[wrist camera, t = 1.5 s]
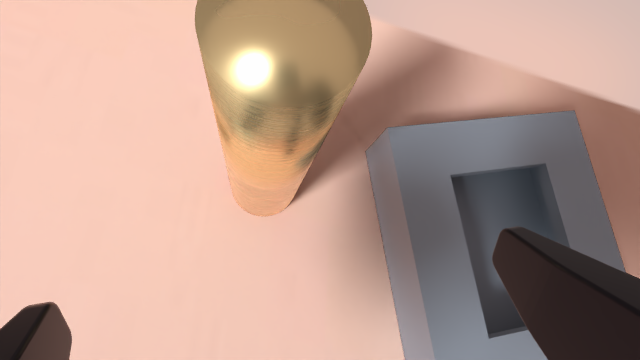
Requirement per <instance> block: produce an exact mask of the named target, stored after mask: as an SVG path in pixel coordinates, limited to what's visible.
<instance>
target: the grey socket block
mask: <svg viewBox="0 0 640 360" xmlns="http://www.w3.org/2000/svg"><path fill="white" fill-rule="evenodd" d="M365 152H366V157H367V162H368V167H369V173H370V178H371V183H372V188H373V194H374V199H375V204H376V209H377V215H378V220H379V225H380V230H381V236H382V241H383V246H384V251H385V257H386V262H387V267H388V272H389V278H390V283H391V288H392V293H393V299H394V304H395V309H396V315H397V320H398V325H399V330H400V336H401V341H402V346H403V351H404V357H405V360H547V358H546V356H545V355H544V353H543V352H542V350H541V349H540V347H539V346H538V344H537V343H536V341H535V340H534V338H533V337H532V335H531V334H530V332H529V330H528V329H527V327H526V325H525V324H524V322H523V320H522V318H521V317H520V315H519V313H518V311H517V309H516V307H515V305H514V303H513V301H512V300H511V298H510V296H509V294H508V292H507V290H506V288H505V286H504V285H503V283H502V281H501V279H500V277H499V275H498V273H497V271H496V269H495V268H494V265H493V262H492V255H493V251H494V248H495V245H496V242H497V239H498V236H499V233H500V232H501V231H502V230H503V229H505V228H510V227H516V226H520V227H524V228H526V229H528V230H531V231H533V232H535V233H537V234H540V235H542V236H544V237H546V238H549V239H551V240H553V241H555V242H558V243H560V244H562V245H564V246H567V247H569V248H571V249H573V250H576V251H578V252H580V253H582V254H585V255H587V256H589V257H591V258H594V259H596V260H598V261H601V262H603V263H605V264H607V265H610V266H612V267H614V268H616V269H619V270H621V271H623V272H625V273H626V271H625V268H624V265H623V262H622V259H621V256H620V252H619V249H618V246H617V243H616V240H615V237H614V234H613V230H612V227H611V224H610V221H609V218H608V215H607V212H606V208H605V205H604V202H603V199H602V196H601V193H600V190H599V186H598V183H597V180H596V177H595V174H594V171H593V168H592V164H591V161H590V158H589V155H588V152H587V149H586V145H585V142H584V139H583V136H582V133H581V130H580V127H579V123H578V120H577V117H576V114H575V111H563V112H552V113H541V114H530V115H519V116H508V117H497V118H487V119H476V120H465V121H454V122H443V123H432V124H421V125H410V126H399V127H388V128H387V129H386V130H385V131H384V132H383V133H382V134H381V135H380V136H379V137H378V138H377V139H376V141H375V142H374V143H373V144H372V145H371V146H370V147H369V148H368V149H367V150H366V151H365Z"/></svg>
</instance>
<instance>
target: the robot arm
mask: <svg viewBox="0 0 640 360" xmlns="http://www.w3.org/2000/svg"><path fill="white" fill-rule="evenodd" d="M492 262H493V265H494V268H495V269H496V271H497V273H498V275H499V277H500V279H501V281H502V283H503V285H504V286H505V288H506V290H507V292H508V294H509V296H510V298H511V300H512V301H513V303H514V305H515V307H516V309H517V311H518V313H519V315H520V317H521V318H522V320H523V322H524V324H525V325H526V327H527V329H528V330H529V332H530V334H531V335H532V337H533V338H534V340H535V341H536V343H537V344H538V346H539V347H540V349H541V350H542V352H543V353H544V355H545V356H546V358H547V360H640V279H639V278H637V277H634V276H632V275H630V274H628V273H625V272H623V271H621V270H619V269H616V268H614V267H612V266H610V265H607V264H605V263H603V262H601V261H598V260H596V259H594V258H591V257H589V256H587V255H585V254H582V253H580V252H578V251H576V250H573V249H571V248H569V247H567V246H564V245H562V244H560V243H558V242H555V241H553V240H551V239H549V238H546V237H544V236H542V235H540V234H537V233H535V232H533V231H531V230H528V229H526V228H524V227H520V226H516V227H510V228H505V229H503V230H502V231H501V232H500V233H499V236H498V239H497V242H496V245H495V248H494V251H493V255H492ZM71 344H72V336H71V331H70V329H69V327H68V325H67V323H66V321H65V319H64V317H63V315H62V313H61V311H60V309H59V307H58V306H57V305H56V304H55V303H53V302H46V303H40V304H34V305H29V306H27V307H25V308H23V309H22V310H21V311H20V312H19V313H18V314H17V315H15V316H14V317H13V318H12V319H11V320H10V321H9V322H8V323H6V324H5V325H4V326H3V327H2V328H1V329H0V360H69V357H70V350H71Z"/></svg>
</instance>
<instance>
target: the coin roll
mask: <svg viewBox="0 0 640 360" xmlns="http://www.w3.org/2000/svg"><path fill="white" fill-rule="evenodd" d="M195 28H196V33H197V38H198V42H199V47H200V51H201V55H202V60H203V64H204V69H205V73H206V78H207V82H208V87H209V91H210V96H211V100H212V104H213V109H214V113H215V118H216V122H217V127H218V131H219V136H220V140H221V145H222V149H223V153H224V158H225V162H226V167H227V171H228V176H229V180H230V185H231V189H232V193H233V196H234V199H235V200H236V202H237V203H238V205H239V206H240V207H241V208H242V209H244V210H245V211H247V212H248V213H250V214H253V215H256V216H271V215H275V214H277V213H279V212H281V211H282V210H284V209H285V208H286V207H287V206H288V205H289V204H290V202H291V201H292V199H293V197H294V195H295V193H296V192H297V190H298V188H299V186H300V184H301V182H302V180H303V179H304V177H305V175H306V173H307V171H308V169H309V167H310V166H311V164H312V162H313V160H314V158H315V156H316V154H317V152H318V151H319V149H320V147H321V145H322V143H323V141H324V139H325V138H326V136H327V134H328V132H329V130H330V128H331V126H332V125H333V123H334V121H335V119H336V117H337V115H338V113H339V111H340V110H341V108H342V106H343V104H344V102H345V100H346V98H347V97H348V95H349V93H350V91H351V89H352V87H353V85H354V84H355V82H356V80H357V78H358V76H359V74H360V72H361V70H362V69H363V67H364V65H365V63H366V60H367V58H368V55H369V52H370V48H371V40H372V28H371V21H370V16H369V13H368V10H367V7H366V5H365V3H364V1H363V0H198V1H197V5H196V11H195Z"/></svg>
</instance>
